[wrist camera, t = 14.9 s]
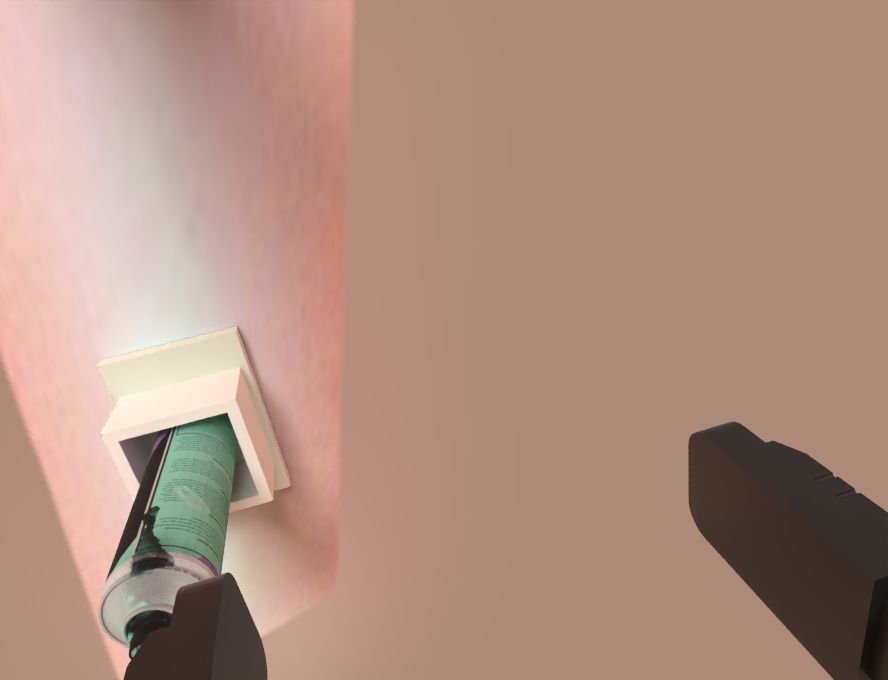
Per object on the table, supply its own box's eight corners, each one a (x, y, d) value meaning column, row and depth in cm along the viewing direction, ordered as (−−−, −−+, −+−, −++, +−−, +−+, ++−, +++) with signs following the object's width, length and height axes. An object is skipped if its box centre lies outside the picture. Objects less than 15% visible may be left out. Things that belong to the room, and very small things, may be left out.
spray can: (145, 420, 45) (52, 648, 27) (212, 385, 45) (164, 587, 27) (190, 473, 47) (132, 713, 29) (253, 439, 47) (235, 657, 29)
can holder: (101, 359, 44) (74, 400, 38) (237, 326, 45) (229, 361, 39) (172, 511, 49) (157, 566, 44) (290, 477, 51) (290, 527, 45)
